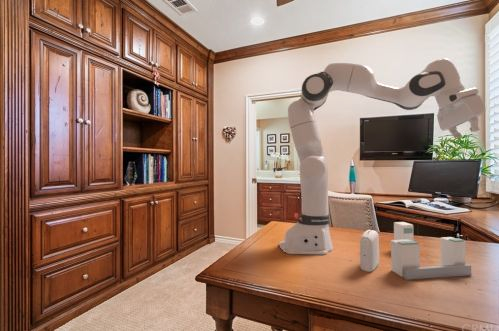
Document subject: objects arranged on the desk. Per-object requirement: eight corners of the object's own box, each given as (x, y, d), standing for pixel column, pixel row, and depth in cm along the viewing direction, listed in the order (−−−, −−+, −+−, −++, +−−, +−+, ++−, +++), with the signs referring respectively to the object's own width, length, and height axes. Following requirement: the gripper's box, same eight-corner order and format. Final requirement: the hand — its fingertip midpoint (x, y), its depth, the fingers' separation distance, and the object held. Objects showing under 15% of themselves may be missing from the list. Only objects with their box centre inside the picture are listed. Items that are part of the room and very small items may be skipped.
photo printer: (372, 273, 80) (372, 235, 80) (358, 269, 82) (358, 232, 82) (380, 263, 87) (380, 228, 87) (367, 260, 90) (367, 226, 90)
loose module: (403, 253, 96) (402, 225, 96) (394, 249, 101) (393, 222, 101) (413, 252, 97) (413, 224, 97) (404, 248, 102) (403, 221, 102)
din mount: (406, 279, 75) (405, 245, 75) (391, 270, 82) (390, 239, 81) (471, 275, 77) (470, 241, 77) (451, 266, 84) (451, 235, 84)
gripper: (429, 112, 103) (441, 143, 100) (460, 91, 83) (476, 129, 81) (445, 107, 102) (457, 139, 100) (481, 85, 82) (497, 124, 80)
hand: (466, 134), depth 90 cm, fingers open, 8 cm apart
